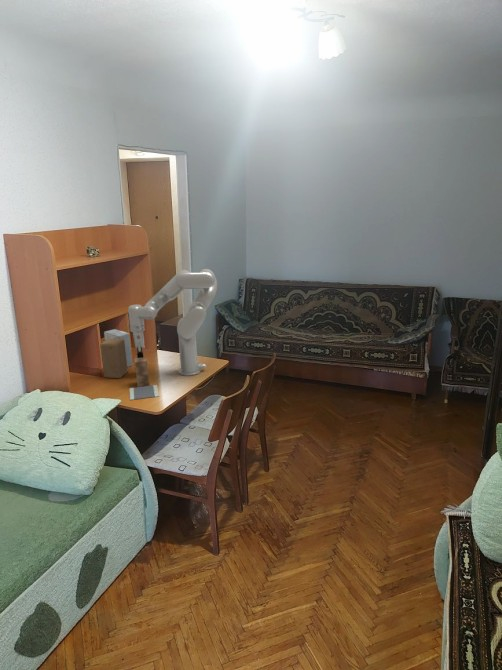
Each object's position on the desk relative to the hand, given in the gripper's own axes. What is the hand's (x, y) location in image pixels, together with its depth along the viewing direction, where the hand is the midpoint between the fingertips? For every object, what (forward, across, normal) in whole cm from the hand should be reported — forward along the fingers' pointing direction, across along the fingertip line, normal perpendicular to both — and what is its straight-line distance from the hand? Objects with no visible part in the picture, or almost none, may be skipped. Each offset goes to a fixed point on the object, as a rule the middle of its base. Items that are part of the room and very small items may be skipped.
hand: (140, 359), depth 252 cm
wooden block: (+9, +4, +14) cm, 17 cm away
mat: (+9, -25, 0) cm, 27 cm away
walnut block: (+9, -14, 0) cm, 17 cm away
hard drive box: (+9, +20, +12) cm, 25 cm away
